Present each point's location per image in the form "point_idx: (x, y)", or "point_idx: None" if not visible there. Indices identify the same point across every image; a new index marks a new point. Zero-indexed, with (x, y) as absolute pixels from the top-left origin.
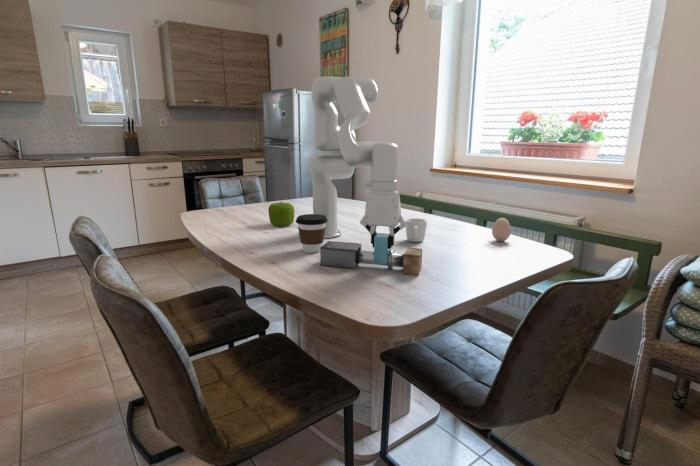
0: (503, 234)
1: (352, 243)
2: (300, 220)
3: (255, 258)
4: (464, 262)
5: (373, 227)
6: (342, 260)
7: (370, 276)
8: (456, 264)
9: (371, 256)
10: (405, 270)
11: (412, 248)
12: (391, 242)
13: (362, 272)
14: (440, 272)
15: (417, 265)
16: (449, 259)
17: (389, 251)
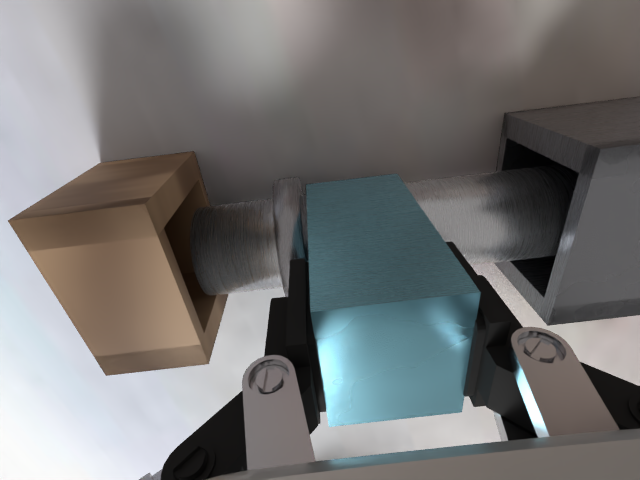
0: None
1: (616, 308)
2: None
3: None
4: (26, 407)
5: (563, 416)
6: (632, 112)
7: (375, 18)
8: (39, 378)
9: (429, 199)
10: (171, 162)
11: (168, 359)
12: (285, 312)
13: (445, 78)
14: (32, 262)
15: (71, 186)
16: (102, 415)
17: None
